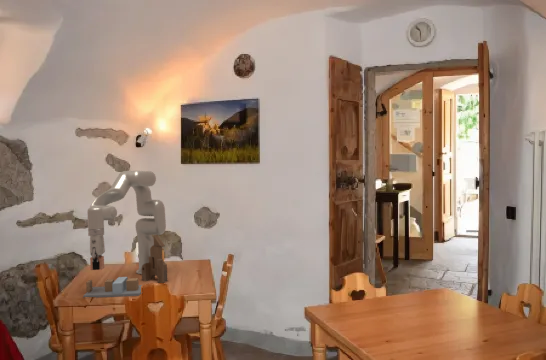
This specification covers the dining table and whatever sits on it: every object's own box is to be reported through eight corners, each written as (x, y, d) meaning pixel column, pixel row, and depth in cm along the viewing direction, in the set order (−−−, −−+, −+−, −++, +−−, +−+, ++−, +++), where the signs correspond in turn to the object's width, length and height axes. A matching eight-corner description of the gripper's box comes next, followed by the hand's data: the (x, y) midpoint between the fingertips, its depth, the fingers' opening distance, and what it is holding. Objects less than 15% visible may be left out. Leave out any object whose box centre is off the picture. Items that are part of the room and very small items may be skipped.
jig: (92, 289, 270) (92, 277, 270) (145, 287, 272) (145, 275, 272) (83, 298, 254) (82, 285, 254) (139, 295, 256) (139, 283, 256)
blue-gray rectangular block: (119, 286, 270) (118, 277, 269) (127, 286, 270) (127, 276, 270) (112, 293, 257) (112, 283, 256) (122, 293, 257) (121, 283, 257)
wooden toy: (141, 280, 287) (139, 235, 285) (150, 277, 292) (148, 233, 291) (160, 284, 278) (159, 237, 277) (170, 281, 284) (168, 235, 282)
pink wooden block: (93, 268, 264) (92, 256, 264) (104, 267, 264) (103, 255, 264) (90, 270, 259) (90, 258, 259) (101, 269, 260) (101, 257, 259)
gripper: (99, 234, 253) (100, 272, 254) (108, 229, 270) (109, 264, 270) (83, 235, 252) (85, 272, 253) (93, 230, 269) (94, 265, 270)
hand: (97, 268), depth 262 cm, fingers closed on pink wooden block, 4 cm apart
